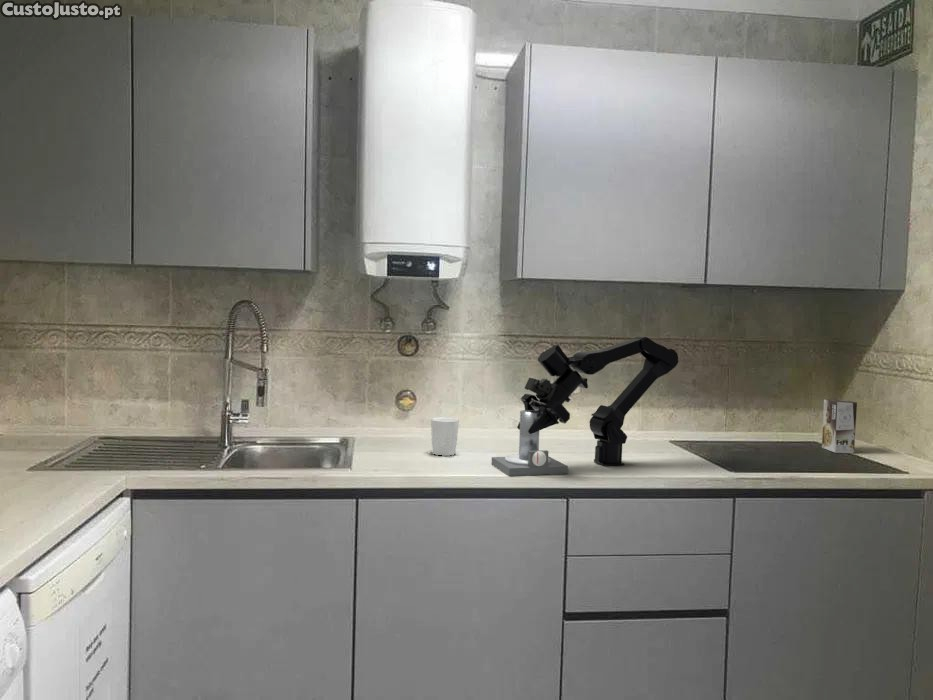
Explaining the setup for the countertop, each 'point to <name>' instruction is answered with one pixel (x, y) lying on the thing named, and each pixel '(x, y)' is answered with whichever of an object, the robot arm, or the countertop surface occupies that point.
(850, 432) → the coffee box
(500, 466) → the scale
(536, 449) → the metal canister
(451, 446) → the white cup
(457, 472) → the countertop surface
